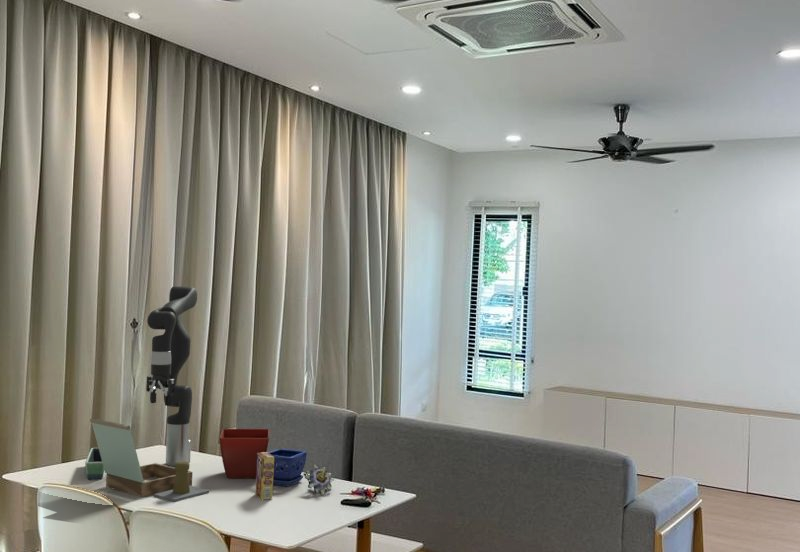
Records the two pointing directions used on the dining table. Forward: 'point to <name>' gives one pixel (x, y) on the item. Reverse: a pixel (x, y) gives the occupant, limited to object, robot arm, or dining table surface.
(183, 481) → the cork
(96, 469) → the planter
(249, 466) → the plant pot
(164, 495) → the mat
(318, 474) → the passion flower
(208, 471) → the dining table surface
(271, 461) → the candy box
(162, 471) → the cold frame
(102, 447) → the lid
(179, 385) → the robot arm
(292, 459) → the flower pot
